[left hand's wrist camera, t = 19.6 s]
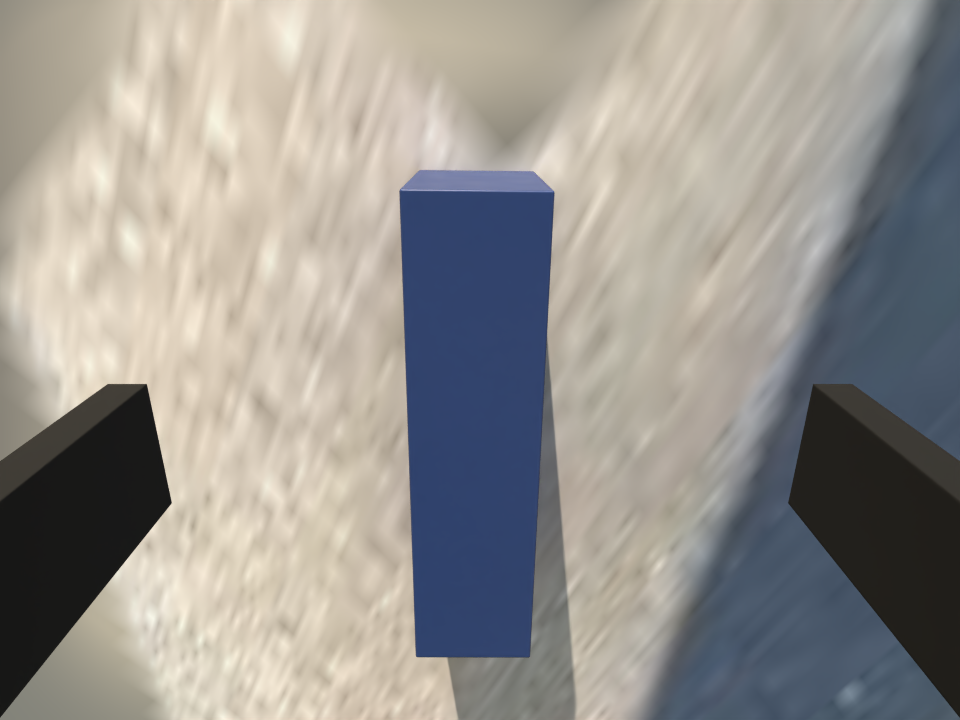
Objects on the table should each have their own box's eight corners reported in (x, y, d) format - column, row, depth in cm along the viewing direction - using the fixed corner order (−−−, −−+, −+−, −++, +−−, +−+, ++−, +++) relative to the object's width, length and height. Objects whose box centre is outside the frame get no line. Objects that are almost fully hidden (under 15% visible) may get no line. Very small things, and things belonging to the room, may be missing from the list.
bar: (418, 170, 31) (399, 189, 23) (534, 171, 31) (554, 190, 23) (427, 548, 40) (415, 657, 32) (518, 548, 40) (529, 658, 32)
